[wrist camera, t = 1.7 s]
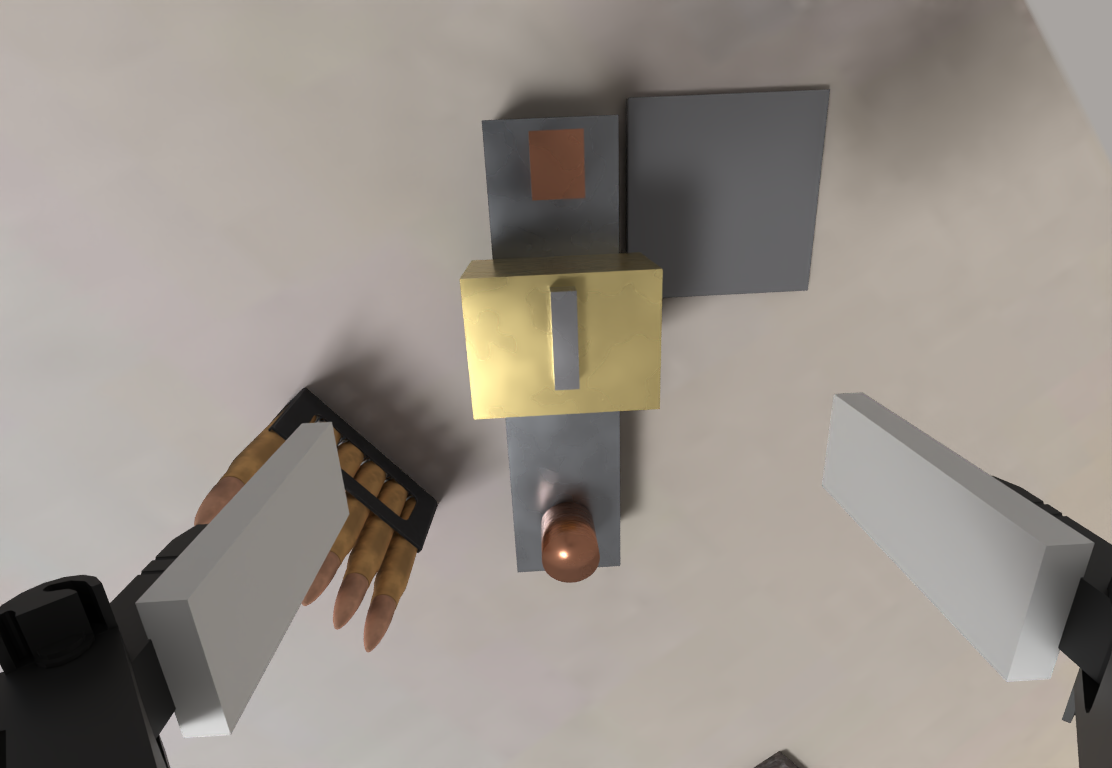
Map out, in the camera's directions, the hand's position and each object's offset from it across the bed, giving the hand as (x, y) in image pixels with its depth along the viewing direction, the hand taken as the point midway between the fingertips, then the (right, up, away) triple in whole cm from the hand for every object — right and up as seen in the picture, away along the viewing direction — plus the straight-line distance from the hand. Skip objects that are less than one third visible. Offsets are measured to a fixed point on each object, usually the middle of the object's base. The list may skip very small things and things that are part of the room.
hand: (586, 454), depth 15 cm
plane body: (-1, +4, +18) cm, 18 cm away
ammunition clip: (-12, -3, +20) cm, 24 cm away
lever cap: (-1, +5, +13) cm, 14 cm away
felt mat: (+8, +12, +15) cm, 21 cm away
